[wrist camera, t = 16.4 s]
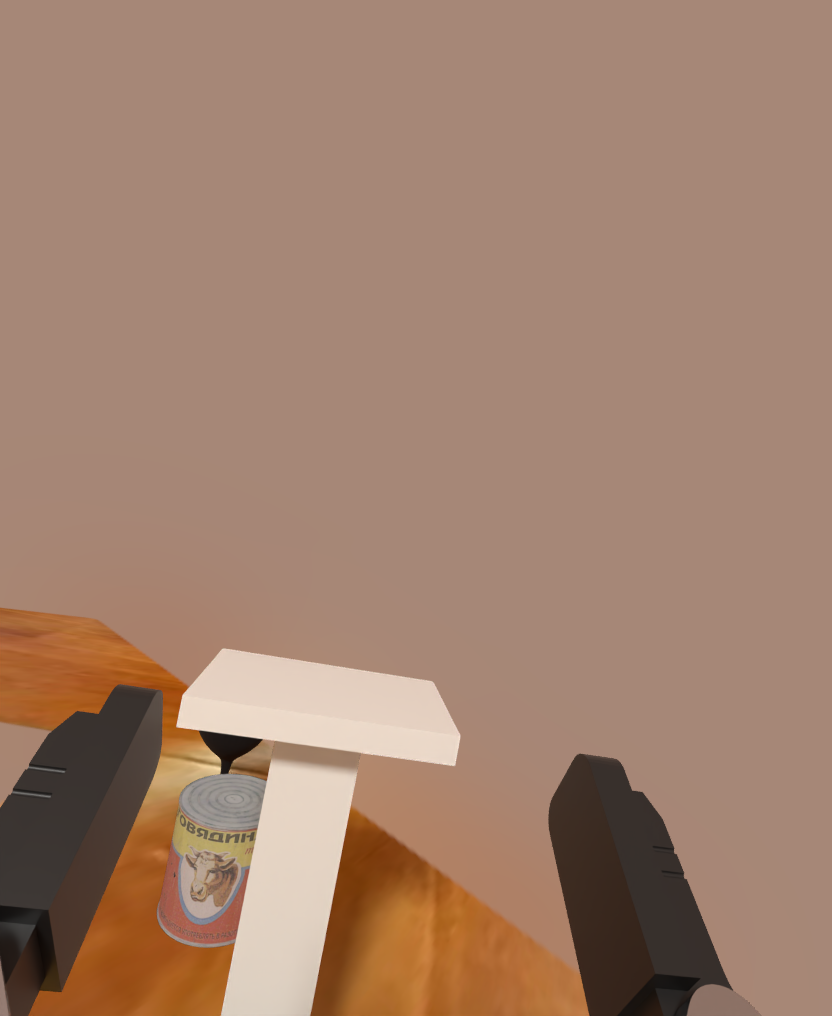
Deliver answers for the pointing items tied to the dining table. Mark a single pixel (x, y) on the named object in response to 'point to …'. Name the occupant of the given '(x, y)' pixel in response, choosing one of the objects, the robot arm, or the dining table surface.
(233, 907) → the canned food
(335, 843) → the white i-beam pedestal
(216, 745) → the wine glass
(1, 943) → the robot arm
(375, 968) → the dining table surface
